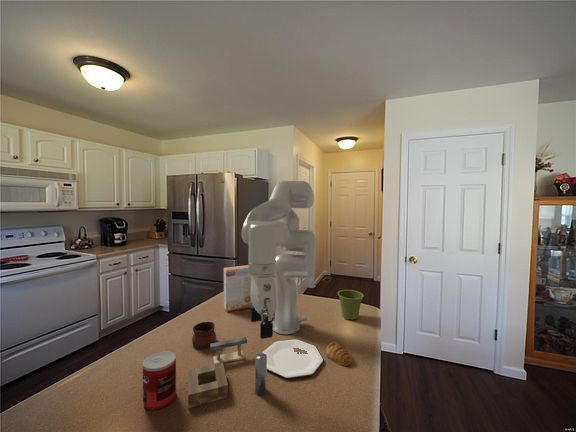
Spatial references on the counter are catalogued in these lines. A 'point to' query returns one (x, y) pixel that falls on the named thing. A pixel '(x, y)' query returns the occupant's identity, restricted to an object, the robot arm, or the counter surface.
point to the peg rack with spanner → (229, 356)
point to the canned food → (159, 380)
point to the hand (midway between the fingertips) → (261, 328)
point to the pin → (260, 373)
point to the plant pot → (350, 303)
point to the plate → (292, 359)
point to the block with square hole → (206, 385)
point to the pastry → (338, 354)
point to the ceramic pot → (203, 335)
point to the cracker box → (237, 288)
